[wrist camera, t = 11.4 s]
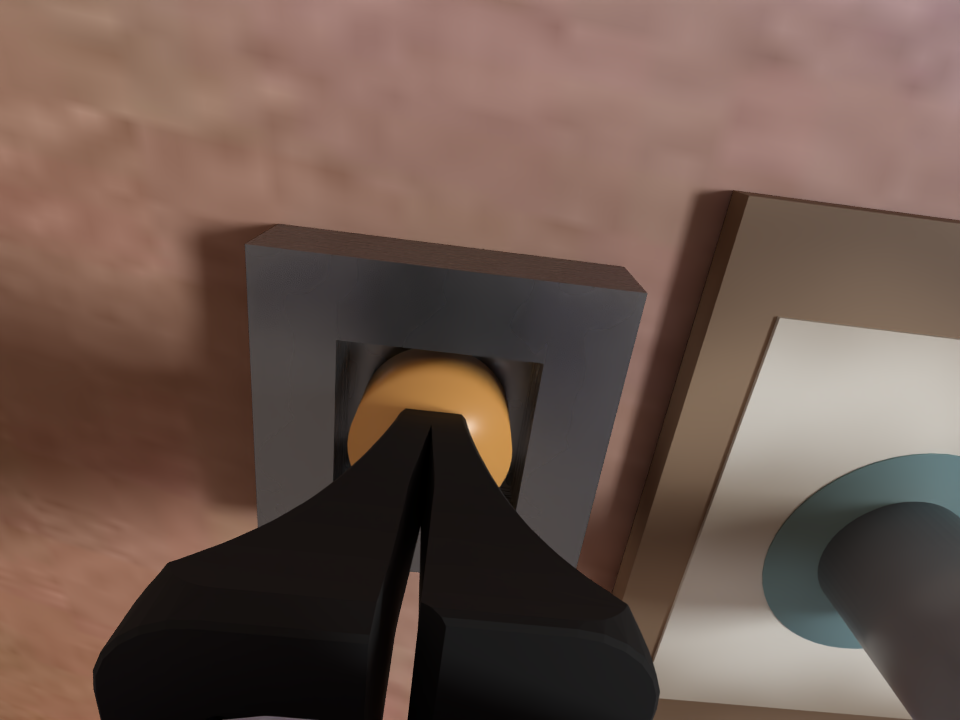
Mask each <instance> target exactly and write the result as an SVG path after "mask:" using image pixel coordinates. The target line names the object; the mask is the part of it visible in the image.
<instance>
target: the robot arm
mask: <svg viewBox="0 0 960 720" xmlns="http://www.w3.org/2000/svg"><path fill="white" fill-rule="evenodd" d="M420 527H421V535H420V580H419V620H418V633H417V641H416V650H415V659H414V668H413V677H412V686H411V695H410V703H409V712H408V720H653V718H654V715H655V713H656V710H657V706H658V701H659V695H660V688H659V684H658V679H657V674H656V671H655V667H654V664H653V661H652V658H651V655H650V652H649V649H648V647H647V645H646V642H645V640H644V638H643V635H642V633H641V631H640V629H639V627H638V624H637V622H636V620H635V618H634V616H633V614H632V612H631V609H630V607H629V606H628V604H626V603H625V602H623V601H622V600H620V599H619V598H617V597H616V596H614V595H613V594H611V593H610V592H608V591H607V590H605V589H604V588H602V587H601V586H599V585H598V584H596V583H595V582H593V581H592V580H590V579H589V578H587V577H586V576H585V575H583V574H582V573H581V572H579V571H578V570H577V569H576V568H574V567H573V566H572V565H571V564H569V563H568V562H567V561H566V560H564V559H563V558H562V557H561V556H560V555H558V554H557V553H556V552H555V551H554V550H553V549H552V548H551V547H549V546H548V545H547V544H546V543H545V542H544V541H543V540H542V539H541V538H540V537H539V536H538V535H537V534H536V533H535V532H534V531H533V530H532V529H531V528H530V527H529V526H528V525H527V524H526V522H525V521H524V520H523V519H522V518H521V516H520V515H519V514H518V513H517V512H516V510H515V509H514V508H513V507H512V505H511V504H510V503H509V501H508V500H507V498H506V497H505V496H504V494H503V493H502V491H501V490H500V488H499V487H498V485H497V484H496V482H495V481H494V479H493V477H492V476H491V474H490V472H489V471H488V469H487V467H486V465H485V463H484V461H483V460H482V458H481V456H480V454H479V452H478V450H477V448H476V446H475V443H474V441H473V439H472V437H471V434H470V431H469V429H468V425H467V422H466V419H465V418H464V417H463V415H462V414H454V413H444V412H435V411H426V410H416V409H407V408H406V409H404V410H403V411H402V412H400V414H399V415H398V417H397V418H396V419H395V421H394V422H393V423H392V424H391V426H390V427H389V428H388V429H387V430H386V432H385V433H384V434H383V435H382V436H381V437H380V438H379V439H378V440H377V442H376V443H375V444H374V445H373V446H372V447H371V448H370V449H369V450H368V451H367V452H366V453H365V454H364V455H363V456H362V457H361V458H360V459H359V460H358V461H356V462H355V463H354V464H353V465H352V466H351V467H350V468H349V469H348V470H346V471H345V472H344V473H343V474H342V475H341V476H339V477H338V478H337V479H336V480H335V481H333V482H332V483H331V484H329V485H328V486H327V487H326V488H324V489H323V490H321V491H320V492H319V493H317V494H316V495H314V496H313V497H312V498H310V499H309V500H307V501H305V502H304V503H302V504H300V505H299V506H297V507H295V508H294V509H292V510H290V511H288V512H287V513H285V514H283V515H282V516H280V517H278V518H276V519H274V520H272V521H270V522H268V523H266V524H264V525H262V526H260V527H258V528H256V529H254V530H252V531H250V532H248V533H245V534H243V535H241V536H239V537H236V538H234V539H232V540H229V541H227V542H224V543H222V544H219V545H217V546H214V547H211V548H208V549H206V550H203V551H200V552H197V553H195V554H192V555H189V556H186V557H184V558H181V559H178V560H175V561H172V562H169V563H167V564H166V566H165V567H164V568H163V569H162V571H161V572H160V573H159V574H158V575H157V577H156V578H155V579H154V580H153V581H152V582H151V583H150V584H149V585H148V587H147V588H146V589H145V590H144V592H143V593H142V594H141V595H140V597H139V598H138V599H137V600H136V602H135V603H134V604H133V606H132V607H131V609H130V610H129V612H128V613H127V614H126V616H125V617H124V619H123V620H122V622H121V623H120V625H119V626H118V627H117V629H116V630H115V632H114V633H113V635H112V636H111V638H110V639H109V641H108V642H107V643H106V645H105V646H104V648H103V649H102V651H101V652H100V655H99V657H98V659H97V662H96V664H95V666H94V669H93V686H94V693H95V697H96V701H97V706H98V710H99V714H100V719H101V720H382V719H383V712H384V705H385V698H386V691H387V685H388V678H389V671H390V664H391V658H392V651H393V644H394V637H395V632H396V627H397V622H398V617H399V613H400V609H401V605H402V601H403V597H404V593H405V589H406V585H407V580H408V576H409V572H410V568H411V564H412V560H413V556H414V552H415V548H416V544H417V540H418V536H419V532H420Z"/></svg>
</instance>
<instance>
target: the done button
mask: <svg viewBox="0 0 960 720" xmlns="http://www.w3.org/2000/svg"><path fill="white" fill-rule="evenodd" d="M406 408H407V409H416V410H426V411H435V412H444V413H454V414H462V415H463V417H464V418H465V419H466V422H467V425H468V429H469V431H470V434H471V437H472V439H473V441H474V443H475V446H476V448H477V450H478V452H479V454H480V456H481V458H482V460H483V461H484V463H485V465H486V467H487V469H488V471H489V472H490V474H491V476H492V477H493V479H494V481H495V482H496V484H497V485H498V487H500V486H501V484H502V482H503V481H504V479H505V478H506V475H507V473H508V471H509V468H510V464H511V459H512V440H511V430H510V419H509V409H508V402H507V397H506V394H505V391H504V389H503V387H502V385H501V383H500V381H499V379H498V378H497V377H496V375H495V374H494V373H493V372H492V371H491V370H490V369H489V368H488V367H487V366H486V365H485V364H484V363H482V362H481V361H480V360H478V359H477V358H475V357H473V356H472V355H464V354H455V353H446V352H438V351H429V350H420V349H410V350H407V351H404V352H401V353H399V354H397V355H395V356H393V357H392V358H390V359H389V360H387V361H386V362H385V363H384V364H382V365H381V366H380V367H379V368H378V369H377V371H376V372H375V373H374V374H373V376H372V377H371V379H370V380H369V382H368V384H367V387H366V389H365V391H364V394H363V396H362V399H361V401H360V404H359V407H358V409H357V412H356V414H355V417H354V419H353V422H352V424H351V427H350V431H349V435H348V455H349V460H350V464H351V466H352V465H353V464H354V463H355V462H356V461H358V460H359V459H360V458H361V457H362V456H363V455H364V454H365V453H366V452H367V451H368V450H369V449H370V448H371V447H372V446H373V445H374V444H375V443H376V442H377V440H378V439H379V438H380V437H381V436H382V435H383V434H384V433H385V432H386V430H387V429H388V428H389V427H390V426H391V424H392V423H393V422H394V421H395V419H396V418H397V417H398V415H399V414H400V412H402V411H403V410H404V409H406Z"/></svg>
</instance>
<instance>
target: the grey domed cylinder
mask: <svg viewBox="0 0 960 720" xmlns="http://www.w3.org/2000/svg"><path fill="white" fill-rule="evenodd" d="M818 581H819V584H820V587H821V589H822V591H823V592H824V594H825V595H826V596H827V598H828V599H829V601H830V602H831V604H832V605H833V606H834V608H835V609H836V611H837V612H838V614H839V615H840V616H841V618H842V619H843V621H844V622H845V623H846V625H847V626H848V628H849V629H850V631H851V632H852V633H853V635H854V636H855V638H856V639H857V641H858V642H859V643H860V645H861V646H862V648H863V649H864V651H865V652H866V653H867V655H868V656H869V658H870V659H871V660H872V662H873V663H874V665H875V666H876V668H877V669H878V670H879V672H880V673H881V675H882V676H883V678H884V679H885V680H886V682H887V683H888V685H889V686H890V687H891V689H892V690H893V692H894V693H895V695H896V696H897V697H898V699H899V700H900V702H901V703H902V705H903V706H904V707H905V709H906V710H907V712H908V713H909V714H910V716H911V717H912V719H913V720H960V517H958V516H957V515H956V514H955V513H953V512H952V511H951V510H949V509H947V508H945V507H943V506H940V505H936V504H932V503H927V502H903V503H895V504H891V505H887V506H884V507H881V508H878V509H875V510H872V511H870V512H868V513H866V514H864V515H862V516H860V517H858V518H856V519H855V520H853V521H852V522H850V523H849V524H847V525H846V526H845V527H844V528H842V529H841V530H840V531H839V532H838V533H837V534H836V535H835V536H834V537H833V538H832V539H831V541H830V542H829V543H828V545H827V546H826V548H825V550H824V551H823V553H822V556H821V558H820V561H819V565H818Z"/></svg>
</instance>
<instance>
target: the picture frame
mask: <svg viewBox="0 0 960 720" xmlns="http://www.w3.org/2000/svg"><path fill="white" fill-rule="evenodd" d="M903 502H927V503H932V504H936V505H940V506H943V507H945V508H947V509H949V510H951V511H952V512H953V513H955V514H956V515H957V516H958V517H960V220H952V219H945V218H937V217H930V216H922V215H915V214H907V213H900V212H892V211H885V210H877V209H870V208H862V207H855V206H847V205H840V204H832V203H825V202H817V201H810V200H802V199H795V198H787V197H780V196H772V195H765V194H757V193H750V192H742V191H735V190H733V194H732V197H731V200H730V204H729V207H728V210H727V214H726V217H725V220H724V224H723V227H722V230H721V234H720V237H719V240H718V244H717V247H716V250H715V254H714V257H713V260H712V264H711V267H710V270H709V274H708V277H707V280H706V283H705V287H704V290H703V293H702V297H701V300H700V303H699V307H698V310H697V313H696V317H695V320H694V323H693V327H692V330H691V333H690V337H689V340H688V343H687V347H686V350H685V353H684V357H683V360H682V363H681V367H680V370H679V373H678V376H677V380H676V383H675V386H674V390H673V393H672V396H671V400H670V403H669V406H668V410H667V413H666V416H665V420H664V423H663V426H662V430H661V433H660V436H659V440H658V443H657V446H656V450H655V453H654V456H653V460H652V463H651V466H650V470H649V473H648V476H647V479H646V483H645V486H644V489H643V493H642V496H641V499H640V503H639V506H638V509H637V513H636V516H635V519H634V523H633V526H632V529H631V533H630V536H629V539H628V543H627V546H626V549H625V553H624V556H623V559H622V563H621V566H620V569H619V572H618V576H617V579H616V582H615V586H614V589H613V592H612V594H613V595H614V596H616V597H617V598H619V599H620V600H622V601H623V602H625V603H626V604H628V606H629V607H630V609H631V612H632V614H633V616H634V618H635V620H636V622H637V624H638V627H639V629H640V631H641V633H642V635H643V638H644V640H645V642H646V645H647V647H648V649H649V652H650V655H651V658H652V661H653V664H654V667H655V671H656V674H657V679H658V684H659V688H660V695H659V701H658V706H657V710H656V713H655V715H654V718H653V720H913V719H912V717H911V716H910V714H909V713H908V712H907V710H906V709H905V707H904V706H903V705H902V703H901V702H900V700H899V699H898V697H897V696H896V695H895V693H894V692H893V690H892V689H891V687H890V686H889V685H888V683H887V682H886V680H885V679H884V678H883V676H882V675H881V673H880V672H879V670H878V669H877V668H876V666H875V665H874V663H873V662H872V660H871V659H870V658H869V656H868V655H867V653H866V652H865V651H864V649H863V648H862V646H861V645H860V643H859V642H858V641H857V639H856V638H855V636H854V635H853V633H852V632H851V631H850V629H849V628H848V626H847V625H846V623H845V622H844V621H843V619H842V618H841V616H840V615H839V614H838V612H837V611H836V609H835V608H834V606H833V605H832V604H831V602H830V601H829V599H828V598H827V596H826V595H825V594H824V592H823V591H822V589H821V587H820V584H819V581H818V565H819V561H820V558H821V556H822V553H823V551H824V550H825V548H826V546H827V545H828V543H829V542H830V541H831V539H832V538H833V537H834V536H835V535H836V534H837V533H838V532H839V531H840V530H841V529H842V528H844V527H845V526H846V525H847V524H849V523H850V522H852V521H853V520H855V519H856V518H858V517H860V516H862V515H864V514H866V513H868V512H870V511H872V510H875V509H878V508H881V507H884V506H887V505H891V504H895V503H903Z"/></svg>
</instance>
